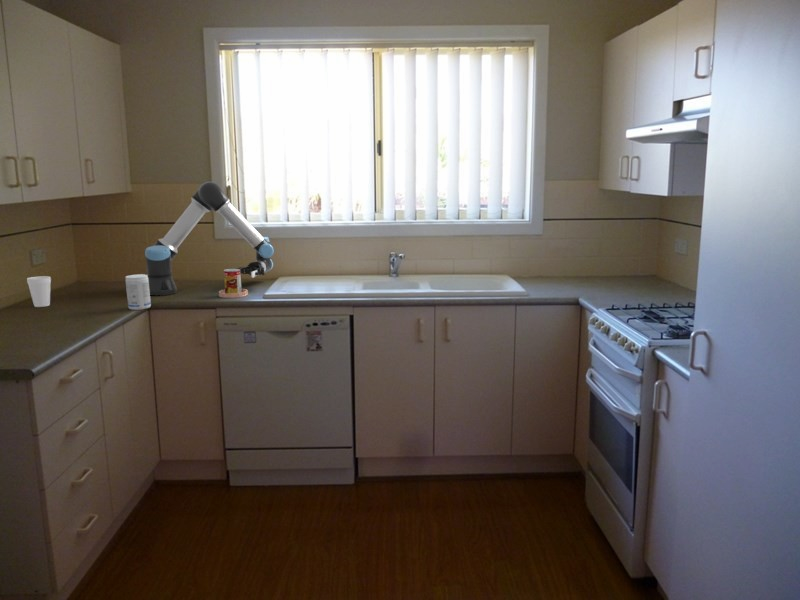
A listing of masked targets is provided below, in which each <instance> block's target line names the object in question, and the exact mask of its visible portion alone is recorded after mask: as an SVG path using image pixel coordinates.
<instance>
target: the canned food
mask: <svg viewBox="0 0 800 600" xmlns="http://www.w3.org/2000/svg"><path fill="white" fill-rule="evenodd" d="M241 276H242V274H240V269H234V268H227V269H224V270H223V279H224V280H223V281H224V284H223V285H224V290H225V293H241V292H242V291H241V289H242V279H241Z"/></svg>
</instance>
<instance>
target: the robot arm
mask: <svg viewBox="0 0 800 600" xmlns="http://www.w3.org/2000/svg"><path fill="white" fill-rule="evenodd" d="M212 210H213V211H214V212H215V213H218V214H219V215H220V216H222V217H223V218H224V219H225V221H226V222H228V223H229V225H231V227H232V228H233V229H234V230H236V232H237V233H238V234H239V235H240V236H241V237H243V239H244V240H245V241H247V243H248V244H249V245H250V246H251V247H252V248H253V250H255V259H256V260H255V261H253V262H252V261H251V262H250V263H248V264H247V266H244V267H243V266H240V267H235V268H233V269H240V275H249V276H250V279H251V278H253V279H254V278H255V277H257V276H258V277H259V276H261V275H262V276H265V273H268V272H270V271H271V270H272V269H273V267H274V262H273V260H272V259H271V257H272V256H273V255H274V253H275V251H274V246H273V245H272V244H271V243H270V242H271V241H270V238H269V237H268V236H263V235H262V234H261V233H260V232H259V231H258V230H257V229H256V228H255V227H254V226H253V225H252V224H251V223H250V222H249V221H248V220H247V219H246V217H245V216H244V215H242V213H240V211H239V210H238V209H237V208H236V207H235V206H234V205H233V204H232V203H231V201H230V198H229V196H228V195H226V194H225V192H224V191H223V189H222V187H221V186H220V185H219V184H217V183H216V182H214V181H205V182H202V183H201V184H200V185H199V186H198V188H197V190H196V191H195V192H194V194H193V195H192V196H191V202H190V204H188V206H187V207H186V208H185V210H184V211H183V213H182V214H181V215H180V216H179V218H178V219H177V220H176V221H175V223H174V224H173V225H172V226H171V227H170V229H169V230H168V232H166V234H165V235H164V236H163V238H162V237H161V238H158V239H157V240H156V241H155V243H154V244H153V245H151V246H147V247H146V249H145V251H144V255H145V262H146V272H147V273H146V275H147V276H148V281H149V290H150V295H156V297H157V295H160V296H168V295H169V296H170V295H173V293H174V294H177V293H178V287H177V285H176V283H175V281H174V279H173V271H172V270H173V269H172V261H173V259H174V258H175V257H176V256H177V254H178V253H179V252H178V248H179V247H180V245H181V244H182V243H183V242H184V241H185V239H186V238H187V236H188V235H189V234H190V233H191V232H192V230H193V229H194V228H195V227H196V225H197V224H198V223H199V222H200V221H201V219H202V218H203V216H204V215H205V214H206V213H210V212H211V211H212Z"/></svg>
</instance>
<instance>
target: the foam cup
mask: <svg viewBox="0 0 800 600" xmlns="http://www.w3.org/2000/svg"><path fill="white" fill-rule="evenodd" d="M51 282H52V277H51V276H47V275H42V276H41V275H40V276H30V277H27V278H26V283H27V285H28V288H29V292H30V296H31V300H32V303H33V306H34V307H35V308H41V307H43V308H44V307H48V306H51Z"/></svg>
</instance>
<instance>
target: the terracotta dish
mask: <svg viewBox="0 0 800 600" xmlns="http://www.w3.org/2000/svg"><path fill="white" fill-rule="evenodd" d="M241 291H242V292H241V293H225V289H221V290H219V291H218V297H219V298H224V299H229V298H231V299H234V298H235V299H237V298H242V297H247V296H248V295H249V290H248V289H245V288H241Z"/></svg>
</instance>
